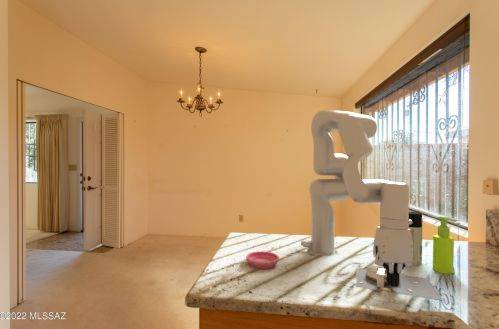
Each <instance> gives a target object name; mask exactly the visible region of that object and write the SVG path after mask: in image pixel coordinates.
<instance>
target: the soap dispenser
mask: <svg viewBox="0 0 499 329" xmlns="http://www.w3.org/2000/svg"><path fill="white" fill-rule="evenodd" d="M437 218H438V220H440V224H439V225H438V226H437V233H436V234H433V237H432V239H433V241H432V243H433V244H432V270H433V271H434V272H437V273H439V274H446V275H452V274H454V259H455V258H454V252H455V251H454V250H455V249H454V248H455V247H454V246H455V238H454V236H450V234H451V233H450V231H451V230H450V228H451V227H449V226H448V225H447V224H448V222H447V221H451V222H453V223H454V222H458V221H459V220H458V219H457V218H456V219H455V218H453V217H449V216H438V217H437Z"/></svg>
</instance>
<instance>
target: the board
mask: <svg viewBox="0 0 499 329" xmlns="http://www.w3.org/2000/svg"><path fill="white" fill-rule="evenodd" d="M355 271H356V272H355V274H356V277H355V278H356V287H357V288H363V289H369V290H374V291H375V290H376V291H380V292H382V291H383V292H386V293H387V292H388V293H392V294H394V293H395V294H399V295H407V296H414V297H417V298H418V297H419V298H425V299H432V300H438V301H443V298H442V297H441V296H440V294H439V292H438V290H436V288H435V287H434V285H433V283H432V282H431V280H430V279H429V278H427V277H419V276H413V275H407V274H405V273H404V272H401V273H400V283H398V287H396V286H395V287H392V286H391V285H388V284H384V288H380V287H377V282H374V281H372V280H370V279H369V278H367V277H366V269H362V268H355Z"/></svg>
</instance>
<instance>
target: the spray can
mask: <svg viewBox="0 0 499 329" xmlns="http://www.w3.org/2000/svg"><path fill="white" fill-rule="evenodd" d="M409 220H412V224H409V227H408V228H409V229H410V231H411V235H412V241H413V260H412V266H413V265H414V266H415V265H416V266H418V265H420V266H421V265H422V264H423V263H422V262H423V213H422V212H419V211H411V210H409Z"/></svg>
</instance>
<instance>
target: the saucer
mask: <svg viewBox="0 0 499 329" xmlns="http://www.w3.org/2000/svg"><path fill="white" fill-rule="evenodd" d="M245 260H246V261H247V263H248V264H249V265H250V267H252V268H255V269H258V270H268V269H272V268H274V267H275V266H276V265H277V264H278V263H279V261H280V256H279V255H278V254H276V253H274V252H270V251H262V250H261V251H259V250H258V251H253V252H250V253H248V254H247V255H246V259H245Z"/></svg>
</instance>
